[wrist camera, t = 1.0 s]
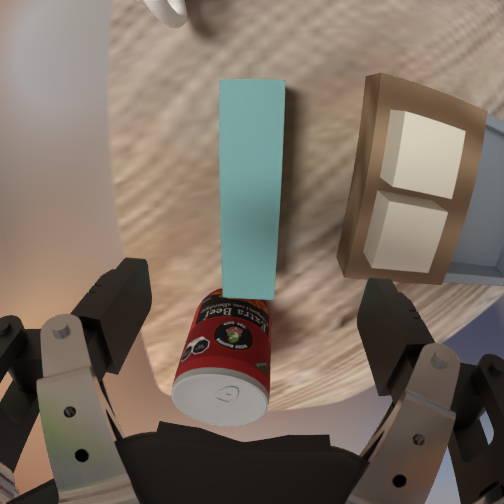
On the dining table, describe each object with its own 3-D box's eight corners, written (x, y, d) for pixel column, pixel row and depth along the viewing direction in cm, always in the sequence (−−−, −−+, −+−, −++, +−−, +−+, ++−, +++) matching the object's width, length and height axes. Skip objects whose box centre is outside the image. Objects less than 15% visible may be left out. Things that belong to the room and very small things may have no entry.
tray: (464, 108, 19) (483, 111, 16) (532, 142, 19) (549, 148, 16) (427, 265, 26) (439, 281, 24) (494, 272, 26) (507, 286, 24)
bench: (365, 76, 19) (380, 72, 16) (464, 108, 19) (487, 111, 16) (336, 256, 27) (344, 277, 23) (427, 265, 26) (441, 284, 23)
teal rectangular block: (230, 84, 20) (219, 79, 16) (282, 85, 20) (285, 80, 16) (230, 265, 28) (222, 297, 24) (273, 267, 28) (273, 299, 23)
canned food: (280, 294, 29) (282, 386, 19) (259, 349, 33) (254, 433, 23) (203, 275, 28) (172, 362, 19) (192, 333, 32) (168, 415, 22)
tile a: (390, 109, 17) (405, 111, 15) (447, 126, 17) (465, 131, 15) (379, 177, 19) (392, 186, 17) (435, 188, 19) (451, 199, 17)
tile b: (377, 190, 20) (389, 201, 18) (432, 200, 20) (448, 212, 18) (362, 251, 22) (371, 267, 20) (416, 257, 22) (428, 272, 20)
